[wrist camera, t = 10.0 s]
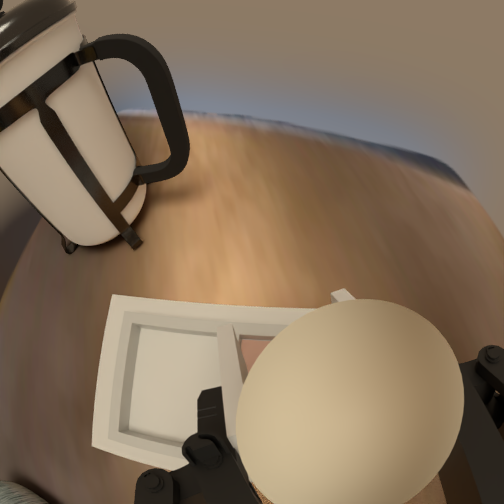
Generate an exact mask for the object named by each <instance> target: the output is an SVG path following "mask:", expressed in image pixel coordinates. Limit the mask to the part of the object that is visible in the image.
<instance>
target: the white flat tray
mask: <svg viewBox="0 0 504 504" xmlns="http://www.w3.org/2000/svg"><path fill="white" fill-rule="evenodd" d="M314 310H316V309H307V308H277V307H255V306H237V305H221V304H207V303H194V302H182V301H171V300H160V299H150V298H140V297H131V296H122V295H114V294H112V299H111V303H110V308H109V313H108V317H107V323H106V328H105V333H104V339H103V344H102V351H101V357H100V364H99V371H98V378H97V386H96V395H95V405H94V417H93V432H92V446H93V447H96V448H99V449H101V450H104V451H107V452H110V453H112V454H115V455H118V456H121V457H124V458H128V459H131V460H134V461H138V462H141V463H145V464H148V465H152V466H156V467H160V468H164V469H168V470H172V471H174V470H176V469H179V468H181V467H183V466H185V465H187V464H189V462H188V461H187V460H186V459H185V457H184V456H183V455H182V446H183V444H184V442H185V441H186V439H187V438H188V437H189V436H191V435H193V434H195V433H197V420H198V418H197V412H198V411H197V399H198V397H199V395H200V393H201V391H202V390H206V389H210V388H215V387H219V386H221V375H220V364H219V352H218V340H217V327H220V326H224V325H227V324H231V323H232V325H233V328H234V331H235V334H236V337H237V340H238V343H239V346H240V348H241V351H242V354H243V357H244V360H245V363H246V366H247V370H248V373H249V371H250V369H251V368H252V366H253V364H254V363H255V361H256V359H257V358H258V356H259V355H260V354H261V353H262V351H263V350H264V349H265V347H266V346H267V345H268V344H269V343H270V342H271V341H272V340H273V339H274V338H275V337H276V336H277V335H278V334H279V333H280V332H281V331H282V330H283V329H285V328H286V327H287V326H289V325H290V324H291V323H292V322H294V321H295V320H297V319H299V318H300V317H302V316H304V315H305V314H307V313H309V312H312V311H314ZM248 478H249V481H250V482H253V481H252V480H251V479H250V477H249V476H248Z"/></svg>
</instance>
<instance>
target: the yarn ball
mask: <svg viewBox="0 0 504 504" xmlns="http://www.w3.org/2000/svg"><path fill="white" fill-rule="evenodd" d="M0 504H49V503H48V502H46V501H45V500H44V499H42V498H41V497H39V496H38V495H36V494H35V493H33V492H32V491H30V490H29V489H27V488H25V487H23V486H21V485H19V484H16V483H14V482H9V481H1V480H0Z"/></svg>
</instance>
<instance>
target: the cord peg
mask: <svg viewBox="0 0 504 504" xmlns="http://www.w3.org/2000/svg"><path fill="white" fill-rule="evenodd" d="M463 408H464V387H463V381H462V375H461V372H460V368H459V365H458V362H457V360H456V357H455V355H454V353H453V351H452V349H451V347H450V346H449V344H448V342H447V341H446V339H445V338H444V337H443V336H442V334H441V333H440V332H439V331H438V330H437V329H436V328H435V327H434V326H433V325H432V324H431V323H430V322H429V321H428V320H426V319H425V318H423V317H422V316H420V315H419V314H417V313H416V312H414V311H412V310H410V309H408V308H406V307H403V306H400V305H398V304H395V303H391V302H386V301H381V300H372V299H356V300H347V301H341V302H336V303H333V304H330V305H326V306H323V307H320V308H318V309H316V310H314V311H312V312H309V313H307V314H305V315H304V316H302V317H300V318H299V319H297V320H295V321H294V322H292V323H291V324H290V325H289V326H287V327H286V328H285V329H283V330H282V331H281V332H280V333H279V334H278V335H277V336H276V337H275V338H274V339H273V340H272V341H271V342H270V343H269V344H268V345H267V346H266V347H265V349H264V350H263V351H262V353H261V354H260V355H259V356H258V358H257V359H256V361H255V363H254V364H253V366H252V368H251V369H250V371H249V373H248V376H247V378H246V380H245V382H244V385H243V387H242V391H241V394H240V397H239V401H238V407H237V413H236V438H237V445H238V450H239V454H240V457H241V460H242V463H243V465H244V467H245V469H246V471H247V473H248V476H249V477H250V479H251V480H252V481H253V483H254V484H255V486H256V487H257V488H258V489H259V491H260V492H261V493H262V494H263V495H264V496H265V497H266V498H267V499H268V500H270V501H271V502H272V503H274V504H404V503H405V502H407V501H409V500H410V499H411V498H413V497H414V496H415V495H416V494H418V493H419V492H420V491H421V490H422V489H423V488H424V487H425V486H426V485H427V484H428V483H429V482H430V481H431V480H432V479H433V478H434V477H435V475H436V474H437V473H438V472H439V470H440V469H441V468H442V466H443V465H444V463H445V461H446V460H447V458H448V457H449V455H450V453H451V451H452V449H453V447H454V444H455V442H456V439H457V436H458V433H459V430H460V426H461V422H462V417H463Z"/></svg>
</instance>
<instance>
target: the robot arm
mask: <svg viewBox="0 0 504 504" xmlns="http://www.w3.org/2000/svg"><path fill="white" fill-rule="evenodd" d="M330 294H331V301H332V304H333V303H336V302H341V301H347V300H356V299H355V298H354V297H353V296H352V295H351V294H350V293H349V292H348V291H347V290H345V289H341V290H338V291H335V292H332V293H330ZM217 340H218V352H219V364H220V375H221V386H219V387H215V388H210V389H206V390H202V391H201V393H200V395H199V397H198V399H197V411H198V412H197V418H198V420H197V433H195V434H193V435H191V436H189V437H188V438H187V439H186V441H185V442H184V444H183V446H182V455H183V456H184V457H185V459H186V460H187V461H188V462H189V464H187V465H185V466H183V467H181V468H179V469H176V470H174V471H171V472H169V473H168V472H167V471H165V470H163V469H157V468H154V469H150V470H147V471H145V472H144V473H142V474H141V475H140V477H139V478H138V480H137V483H136V490H135V501H134V504H263V503H262V501H261V499H260V498H259V496H258V494H257V493H256V491H255V489H254V487H253V486H252V484H251V482H250V481H249V478H248V473H247V471H246V469H245V467H244V465H243V463H242V460H241V457H240V454H239V450H238V445H237V438H236V413H237V407H238V401H239V397H240V394H241V391H242V387H243V385H244V382H245V380H246V378H247V376H248V370H247V366H246V363H245V360H244V357H243V354H242V351H241V348H240V346H239V343H238V340H237V337H236V334H235V331H234V328H233V325H232V323H231V324H227V325H224V326H220V327H217ZM458 365H459V368H460V372H461V375H462V381H463V387H464V408H463V417H462V422H461V426H460V430H459V433H458V436H457V439H456V442H455V444H454V447H453V449H452V451H451V453H450V455H449V457H448V458H447V460H446V461H445V463H444V465H443V466H442V468H441V469H440V470H439V472H438V474H439V477H440V481H441V484H442V488H443V491H444V495H445V498H446V502H447V504H504V349H503V348H501V347H499V346H495V345H489V346H486V347H484V348H482V349H481V350H480V351H479V354H478V358H477V359H475V360H472V361H468V362H465V363H461V364H459V363H458ZM495 391H498V392H499V393H500V394H498V393H496V392H495Z"/></svg>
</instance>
